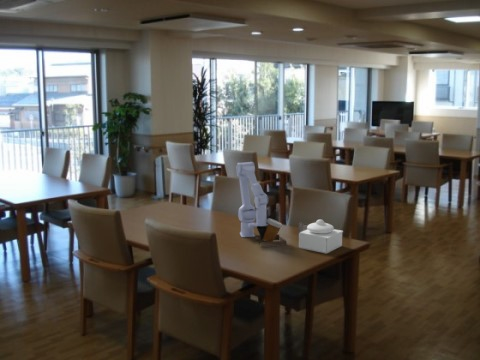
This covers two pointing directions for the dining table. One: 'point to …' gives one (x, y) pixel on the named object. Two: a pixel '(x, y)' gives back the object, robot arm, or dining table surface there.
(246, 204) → the robot arm
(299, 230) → the architectural model on board
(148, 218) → the dining table surface
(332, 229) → the butter dish
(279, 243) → the cup holder
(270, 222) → the disposable coffee cup
